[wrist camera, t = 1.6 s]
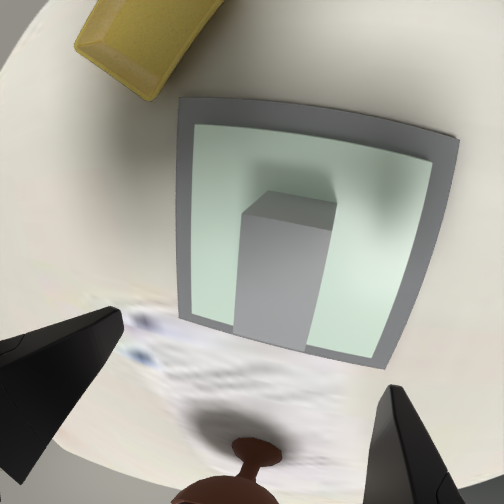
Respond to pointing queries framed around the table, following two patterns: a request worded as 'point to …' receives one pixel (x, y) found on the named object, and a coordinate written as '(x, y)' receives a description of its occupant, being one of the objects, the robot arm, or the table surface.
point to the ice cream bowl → (236, 478)
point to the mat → (334, 127)
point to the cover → (301, 235)
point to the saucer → (142, 39)
